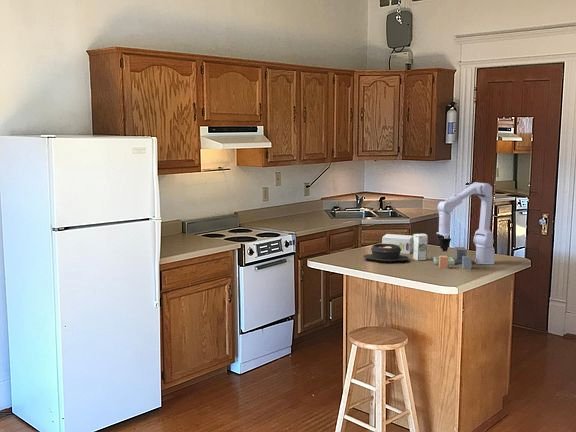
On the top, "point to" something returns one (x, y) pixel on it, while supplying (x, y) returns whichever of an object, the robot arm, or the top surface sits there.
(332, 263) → the top surface
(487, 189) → the robot arm
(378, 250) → the black round brimmed piece
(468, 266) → the slate block
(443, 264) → the terracotta block
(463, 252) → the grey housing
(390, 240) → the supplement box
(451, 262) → the sage tray
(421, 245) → the syrup box
